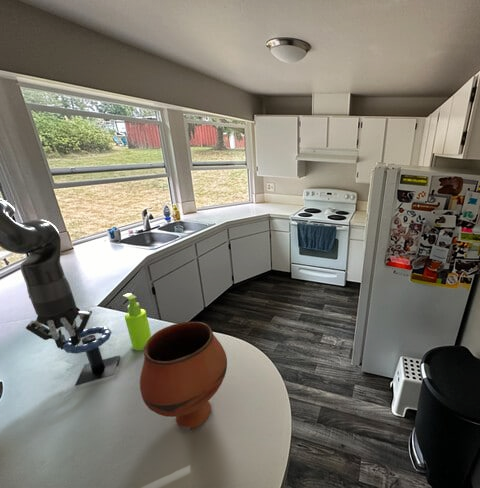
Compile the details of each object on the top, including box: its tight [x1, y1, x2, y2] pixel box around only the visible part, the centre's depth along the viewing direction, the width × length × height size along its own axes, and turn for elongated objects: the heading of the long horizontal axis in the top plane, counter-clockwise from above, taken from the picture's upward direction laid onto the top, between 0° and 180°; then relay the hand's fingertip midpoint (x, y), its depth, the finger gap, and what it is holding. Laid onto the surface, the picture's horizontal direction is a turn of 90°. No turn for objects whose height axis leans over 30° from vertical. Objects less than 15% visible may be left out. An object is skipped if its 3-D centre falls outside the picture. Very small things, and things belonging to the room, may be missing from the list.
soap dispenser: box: [122, 292, 152, 351], centre depth 87 cm, size 6×7×20 cm
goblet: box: [139, 321, 228, 430], centre depth 63 cm, size 19×19×25 cm
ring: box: [62, 326, 112, 355], centre depth 74 cm, size 10×10×2 cm
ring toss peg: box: [74, 334, 121, 387], centre depth 77 cm, size 9×9×13 cm
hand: (70, 345), depth 73 cm, fingers closed on ring, 2 cm apart
